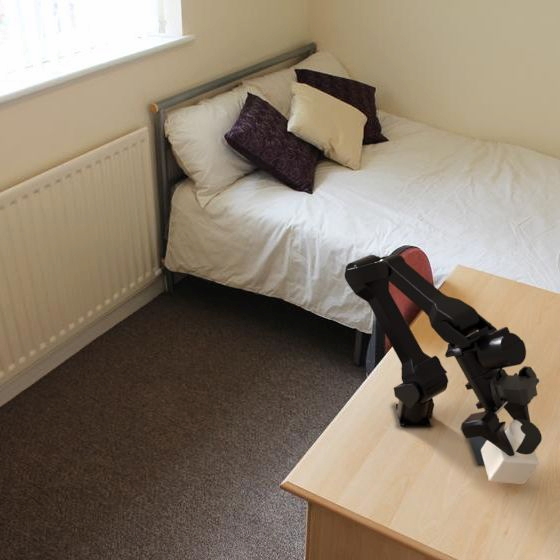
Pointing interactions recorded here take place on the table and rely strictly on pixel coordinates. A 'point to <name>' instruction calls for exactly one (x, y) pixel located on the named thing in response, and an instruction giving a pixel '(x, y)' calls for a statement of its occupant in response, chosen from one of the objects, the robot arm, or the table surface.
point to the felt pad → (478, 448)
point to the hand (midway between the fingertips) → (521, 445)
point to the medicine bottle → (524, 460)
